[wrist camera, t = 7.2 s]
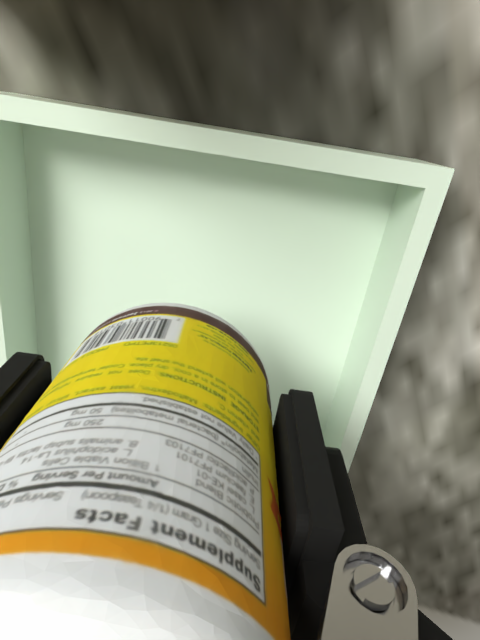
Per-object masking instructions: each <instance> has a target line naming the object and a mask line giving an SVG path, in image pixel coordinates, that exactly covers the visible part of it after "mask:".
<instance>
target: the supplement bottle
mask: <svg viewBox="0 0 480 640" xmlns="http://www.w3.org/2000/svg"><path fill="white" fill-rule="evenodd" d="M0 640H291V638H290V627H289V616H288V597H287V589H286V579H285V568H284V556H283V542H282V532H281V515H280V511H279V501H278V487H277V472H276V463H275V450H274V438H273V425H272V411H271V401H270V392H269V384H268V378H267V374H266V371H265V368H264V365H263V363H262V361H261V359H260V357H259V355H258V353H257V352H256V350H255V348H254V347H253V346H252V344H251V343H250V342H249V341H248V339H247V338H246V337H245V336H244V335H243V334H242V333H241V332H240V331H239V330H238V329H236V328H235V327H234V326H233V325H231V324H230V323H229V322H227V321H225V320H224V319H222V318H221V317H219V316H217V315H215V314H213V313H211V312H208V311H206V310H203V309H200V308H198V307H193V306H189V305H184V304H178V303H149V304H144V305H139V306H135V307H132V308H129V309H126V310H124V311H121V312H119V313H117V314H115V315H113V316H111V317H110V318H108V319H107V320H105V321H104V322H102V323H101V324H100V325H99V326H97V327H96V328H95V329H94V330H93V331H92V332H91V333H90V334H89V335H88V336H87V338H86V339H85V340H84V341H83V342H82V343H81V345H80V346H79V347H78V349H77V350H76V351H75V352H74V354H73V355H72V356H71V358H70V359H69V360H68V362H67V363H66V364H65V365H64V367H63V368H62V369H61V371H60V372H59V373H58V375H57V376H56V377H55V379H54V380H53V381H52V383H51V384H50V385H49V386H48V388H47V389H46V390H45V392H44V393H43V394H42V396H41V397H40V398H39V400H38V401H37V402H36V404H35V405H34V406H33V408H32V409H31V410H30V411H29V413H28V414H27V415H26V416H25V418H24V419H23V421H22V422H21V424H20V425H19V426H18V427H17V429H16V430H15V431H14V432H13V434H12V435H11V436H10V438H9V439H8V440H7V442H6V443H5V444H4V446H3V447H2V448H1V450H0Z"/></svg>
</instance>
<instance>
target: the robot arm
mask: <svg viewBox="0 0 480 640" xmlns="http://www.w3.org/2000/svg"><path fill="white" fill-rule="evenodd" d="M51 383H52V373H51V364H50V362H47V361H45V360H44V357H43V356H42V355H39V354H32V353H25V352H16V353H15V354H13V355H12V356H11V357H10V358H9V359H8V360H7V361H6V362H5V363H4V364H3V365H2V366H1V367H0V450H1V448H2V447H3V446H4V444H5V443H6V442H7V440H8V439H9V438H10V436H11V435H12V434H13V432H14V431H15V430H16V429H17V427H18V426H19V425H20V424H21V422H22V421H23V419H24V418H25V416H26V415H27V414H28V413H29V411H30V410H31V409H32V408H33V406H34V405H35V404H36V402H37V401H38V400H39V398H40V397H41V396H42V394H43V393H44V392H45V390H46V389H47V388H48V386H49V385H50V384H51ZM273 438H274V450H275V463H276V472H277V487H278V501H279V511H280V515H281V532H282V542H283V556H284V568H285V579H286V589H287V597H288V616H289V627H290V638H291V640H452V638H450V637H449V636H448V635H447V634H446V633H445V632H444V631H442V630H441V629H440V628H439V627H438V626H437V625H436V624H434V623H433V622H432V621H431V620H430V619H429V618H427V617H426V616H425V615H424V614H423V613H422V612H421V611H420V610H418V599H417V594H416V588H415V585H414V583H413V581H412V579H411V577H410V575H409V573H408V572H407V571H406V570H405V568H404V567H403V566H402V564H401V563H400V562H398V561H397V560H396V559H395V558H394V557H393V556H391V555H390V554H389V553H387V552H385V551H383V550H381V549H380V548H378V547H374V546H371V545H367V542H366V538H365V535H364V531H363V527H362V524H361V520H360V516H359V513H358V509H357V506H356V502H355V498H354V495H353V491H352V488H351V484H350V480H349V477H348V473H347V469H346V466H345V462H344V459H343V455H342V453H341V450H340V449H339V448H333V447H325V443H324V439H323V434H322V430H321V426H320V421H319V417H318V413H317V409H316V404H315V400H314V396H313V393H312V392H310V391H302V390H295V389H290V390H289V392H288V394H281V396H280V399H279V403H278V408H277V412H276V416H275V421H274V425H273Z"/></svg>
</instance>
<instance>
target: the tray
mask: <svg viewBox="0 0 480 640" xmlns="http://www.w3.org/2000/svg"><path fill="white" fill-rule="evenodd" d="M454 170H455V169H453V168H450V167H446V166H442V165H438V164H434V163H430V162H426V161H422V160H418V159H414V158H408V157H402V156H395V155H389V154H383V153H377V152H371V151H365V150H359V149H353V148H347V147H341V146H335V145H329V144H322V143H316V142H310V141H304V140H298V139H292V138H286V137H280V136H274V135H268V134H262V133H256V132H249V131H243V130H237V129H231V128H225V127H219V126H213V125H207V124H201V123H195V122H189V121H183V120H177V119H170V118H164V117H158V116H152V115H146V114H140V113H134V112H128V111H122V110H116V109H110V108H104V107H97V106H91V105H85V104H79V103H73V102H67V101H61V100H55V99H49V98H43V97H37V96H31V95H24V94H18V93H11V92H2V91H0V367H1V366H2V365H3V364H4V363H5V362H6V361H7V360H8V359H9V358H10V357H11V356H12V355H13V354H15V353H16V352H25V353H32V354H39V355H42V356H43V357H44V360H45V361H47V362H50V364H51V373H52V381H53V380H54V379H55V377H56V376H57V375H58V373H59V372H60V371H61V369H62V368H63V367H64V365H65V364H66V363H67V362H68V360H69V359H70V358H71V356H72V355H73V354H74V352H75V351H76V350H77V349H78V347H79V346H80V345H81V343H82V342H83V341H84V340H85V339H86V338H87V336H88V335H89V334H90V333H91V332H92V331H93V330H94V329H95V328H96V327H97V326H99V325H100V324H101V323H102V322H104V321H105V320H107V319H108V318H110V317H111V316H113V315H115V314H117V313H119V312H121V311H124V310H126V309H129V308H132V307H135V306H139V305H144V304H149V303H178V304H184V305H189V306H193V307H198V308H200V309H203V310H206V311H208V312H211V313H213V314H215V315H217V316H219V317H221V318H222V319H224V320H225V321H227V322H229V323H230V324H231V325H233V326H234V327H235V328H236V329H238V330H239V331H240V332H241V333H242V334H243V335H244V336H245V337H246V338H247V339H248V341H249V342H250V343H251V344H252V346H253V347H254V348H255V350H256V352H257V353H258V355H259V357H260V359H261V361H262V363H263V365H264V368H265V371H266V374H267V378H268V384H269V392H270V401H271V411H272V425H274V421H275V416H276V412H277V408H278V403H279V399H280V396H281V394H288V392H289V390H290V389H295V390H302V391H310V392H312V393H313V396H314V400H315V404H316V409H317V413H318V417H319V421H320V426H321V430H322V434H323V439H324V443H325V447H333V448H339V449H340V450H341V453H342V455H343V459H344V462H345V466H346V469H347V473H348V472H349V469H350V466H351V463H352V460H353V457H354V455H355V452H356V449H357V446H358V443H359V440H360V438H361V435H362V432H363V429H364V426H365V423H366V421H367V418H368V415H369V412H370V409H371V406H372V403H373V401H374V398H375V395H376V392H377V389H378V386H379V384H380V381H381V378H382V375H383V372H384V369H385V366H386V364H387V361H388V358H389V355H390V352H391V349H392V347H393V344H394V341H395V338H396V335H397V332H398V330H399V327H400V324H401V321H402V318H403V315H404V312H405V310H406V307H407V304H408V301H409V298H410V295H411V293H412V290H413V287H414V284H415V281H416V278H417V275H418V273H419V270H420V267H421V264H422V261H423V258H424V256H425V253H426V250H427V247H428V244H429V241H430V239H431V236H432V233H433V230H434V227H435V224H436V221H437V219H438V216H439V213H440V210H441V207H442V204H443V202H444V199H445V196H446V193H447V190H448V187H449V184H450V182H451V179H452V176H453V173H454Z"/></svg>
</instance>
